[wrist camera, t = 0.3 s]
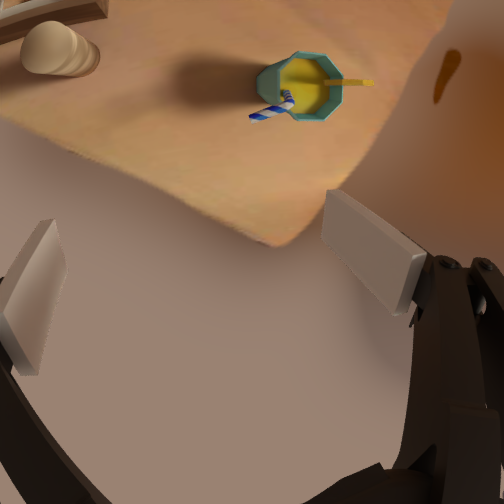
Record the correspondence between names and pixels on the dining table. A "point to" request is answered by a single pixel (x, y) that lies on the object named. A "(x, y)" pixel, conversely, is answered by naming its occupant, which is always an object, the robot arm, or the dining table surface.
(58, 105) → the dining table surface
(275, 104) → the cup
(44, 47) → the peg
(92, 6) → the crate
